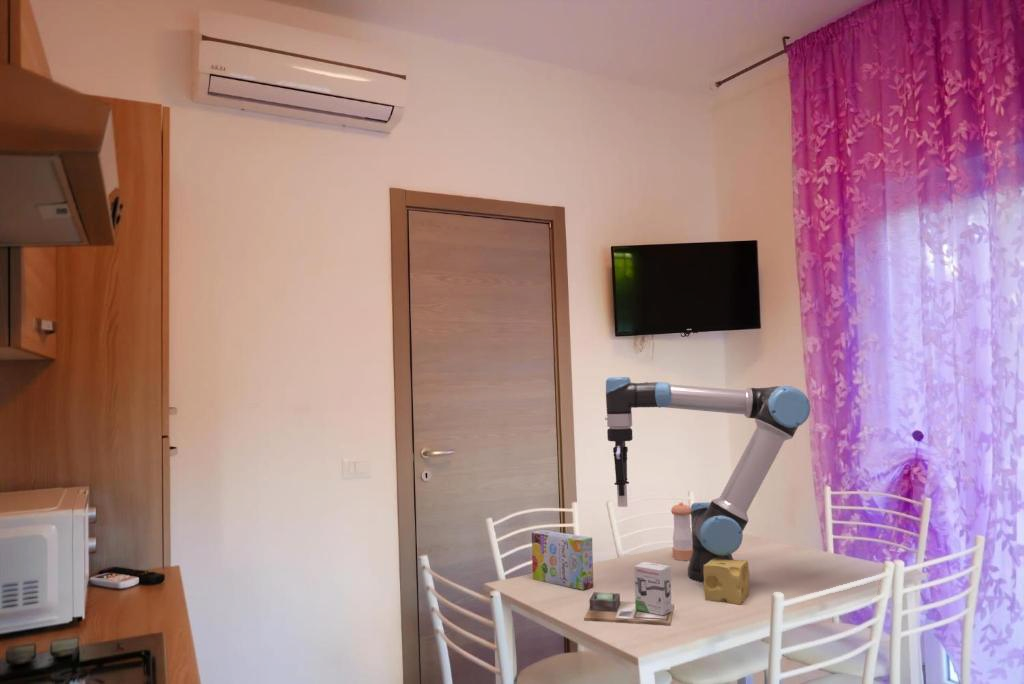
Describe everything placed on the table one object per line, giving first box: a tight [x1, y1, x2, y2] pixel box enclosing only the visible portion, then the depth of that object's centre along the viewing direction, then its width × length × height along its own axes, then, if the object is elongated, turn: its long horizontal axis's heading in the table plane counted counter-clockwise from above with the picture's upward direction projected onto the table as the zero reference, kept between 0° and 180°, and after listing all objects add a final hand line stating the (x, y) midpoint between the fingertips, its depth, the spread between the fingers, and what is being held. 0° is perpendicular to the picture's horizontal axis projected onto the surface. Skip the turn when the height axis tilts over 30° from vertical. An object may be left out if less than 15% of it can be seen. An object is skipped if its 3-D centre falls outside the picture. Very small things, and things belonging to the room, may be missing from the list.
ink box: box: [634, 561, 672, 615], centre depth 191 cm, size 9×5×12 cm, turn 50°
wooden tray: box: [583, 592, 675, 626], centre depth 192 cm, size 22×16×3 cm
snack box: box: [531, 529, 594, 591], centre depth 224 cm, size 21×6×15 cm, turn 45°
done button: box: [597, 592, 613, 600], centre depth 196 cm, size 4×4×3 cm
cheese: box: [703, 558, 750, 606], centre depth 204 cm, size 10×11×10 cm
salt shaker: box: [670, 502, 693, 561], centre depth 251 cm, size 7×7×19 cm
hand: (622, 506), depth 217 cm, fingers closed
